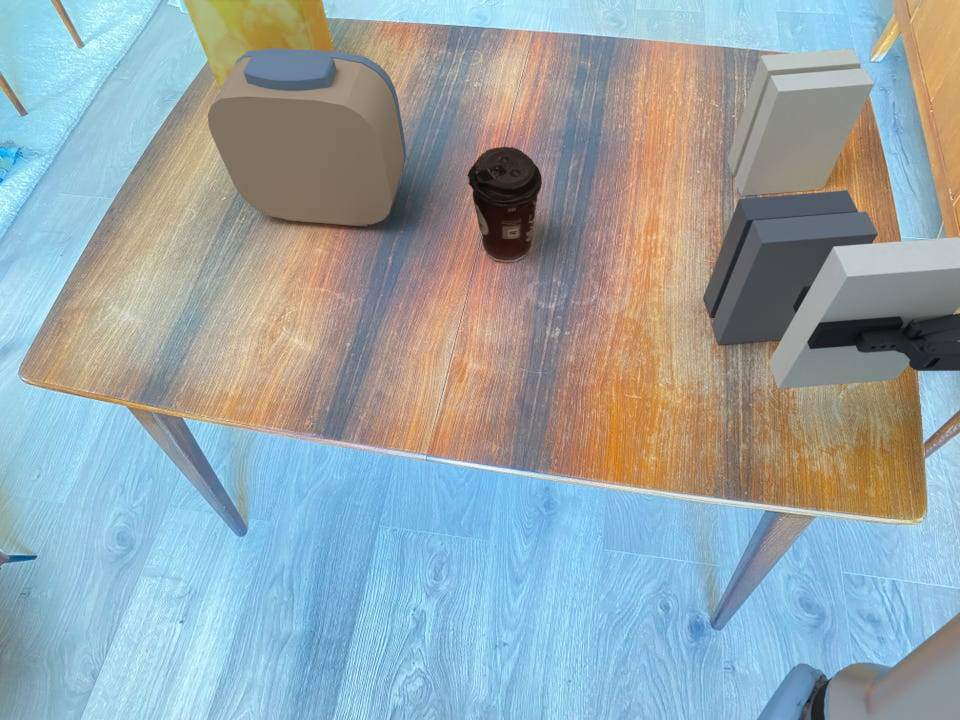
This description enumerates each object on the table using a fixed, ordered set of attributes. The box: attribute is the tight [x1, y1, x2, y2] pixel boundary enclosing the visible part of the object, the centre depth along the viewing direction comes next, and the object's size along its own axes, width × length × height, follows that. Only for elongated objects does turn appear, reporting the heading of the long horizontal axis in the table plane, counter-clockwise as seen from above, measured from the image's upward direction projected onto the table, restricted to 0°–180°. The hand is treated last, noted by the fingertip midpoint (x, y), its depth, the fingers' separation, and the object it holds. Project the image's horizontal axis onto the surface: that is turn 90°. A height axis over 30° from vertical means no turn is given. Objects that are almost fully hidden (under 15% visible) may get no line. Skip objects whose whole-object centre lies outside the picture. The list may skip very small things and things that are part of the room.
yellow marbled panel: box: [183, 0, 335, 90], centre depth 101 cm, size 18×12×24 cm
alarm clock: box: [207, 48, 407, 228], centre depth 85 cm, size 21×10×22 cm, turn 81°
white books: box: [726, 47, 875, 197], centre depth 87 cm, size 7×11×16 cm, turn 94°
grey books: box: [702, 189, 879, 346], centre depth 73 cm, size 7×11×17 cm, turn 94°
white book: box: [768, 236, 960, 390], centre depth 58 cm, size 3×11×16 cm, turn 94°
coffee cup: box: [467, 146, 543, 264], centre depth 83 cm, size 9×8×13 cm
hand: (807, 317), depth 57 cm, fingers closed on white book, 3 cm apart
